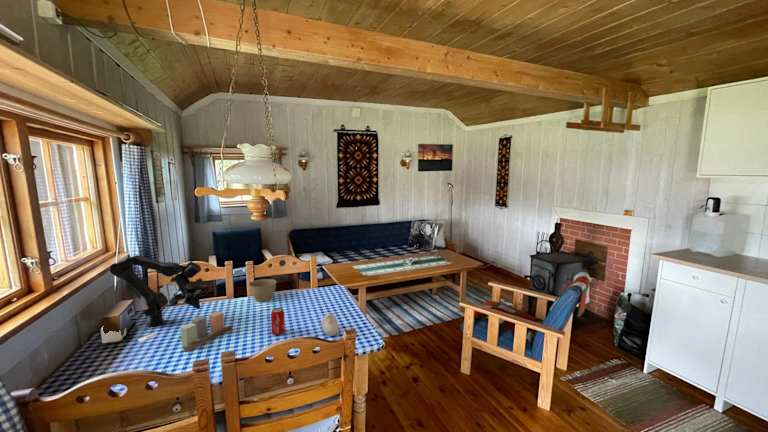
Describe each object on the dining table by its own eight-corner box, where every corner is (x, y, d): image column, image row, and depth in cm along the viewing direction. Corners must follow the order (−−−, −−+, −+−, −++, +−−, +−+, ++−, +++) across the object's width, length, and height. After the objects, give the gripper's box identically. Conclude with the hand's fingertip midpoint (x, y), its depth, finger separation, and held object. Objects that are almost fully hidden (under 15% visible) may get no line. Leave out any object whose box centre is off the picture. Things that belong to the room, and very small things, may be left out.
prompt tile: (137, 340, 148) (137, 339, 148) (153, 334, 154) (153, 332, 154) (152, 347, 143) (152, 345, 143) (168, 339, 149) (168, 338, 149)
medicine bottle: (126, 333, 155) (124, 310, 153) (120, 341, 148) (118, 316, 147) (108, 336, 152) (106, 312, 151) (101, 343, 145) (99, 318, 144)
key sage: (181, 346, 142) (180, 327, 141) (191, 341, 146) (190, 322, 145) (187, 348, 140) (186, 328, 139) (197, 343, 144) (195, 324, 143)
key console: (168, 347, 143) (168, 341, 142) (215, 326, 163) (214, 320, 163) (186, 354, 137) (186, 348, 137) (232, 331, 158) (231, 325, 158)
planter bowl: (282, 297, 203) (281, 281, 202) (262, 306, 189) (261, 288, 188) (264, 292, 211) (263, 277, 209) (243, 301, 197) (243, 284, 195)
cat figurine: (335, 320, 151) (328, 305, 164) (320, 330, 149) (314, 314, 162) (344, 333, 154) (337, 317, 168) (330, 344, 153) (324, 327, 166)
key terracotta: (210, 332, 155) (209, 314, 154) (218, 328, 159) (217, 311, 158) (215, 334, 153) (214, 316, 152) (224, 330, 157) (223, 312, 156)
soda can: (282, 328, 162) (281, 306, 160) (286, 333, 157) (286, 310, 155) (269, 332, 158) (269, 309, 156) (274, 337, 153) (273, 313, 151)
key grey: (192, 337, 149) (191, 319, 148) (201, 333, 154) (200, 315, 152) (198, 339, 148) (197, 321, 147) (207, 335, 152) (206, 317, 151)
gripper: (171, 279, 152) (187, 306, 148) (208, 270, 168) (222, 293, 165) (162, 292, 156) (177, 318, 153) (199, 282, 173) (213, 305, 169)
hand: (199, 308), depth 160 cm, fingers closed
